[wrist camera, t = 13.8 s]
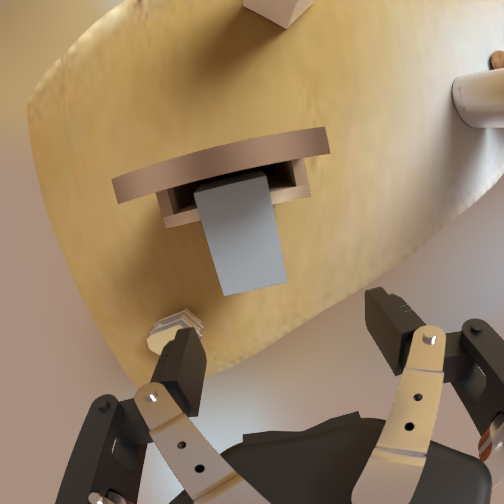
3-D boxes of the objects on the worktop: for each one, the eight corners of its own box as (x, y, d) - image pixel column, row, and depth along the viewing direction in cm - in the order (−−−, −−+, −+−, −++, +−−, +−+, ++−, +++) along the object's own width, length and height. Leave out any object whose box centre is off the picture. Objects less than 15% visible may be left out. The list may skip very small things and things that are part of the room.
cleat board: (278, 144, 32) (324, 126, 13) (286, 182, 34) (340, 214, 15) (183, 166, 32) (111, 179, 14) (193, 203, 34) (135, 259, 15)
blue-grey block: (257, 165, 29) (266, 175, 20) (275, 247, 33) (289, 290, 23) (208, 176, 29) (193, 193, 20) (229, 257, 33) (226, 303, 24)
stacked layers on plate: (179, 284, 38) (171, 303, 33) (223, 324, 40) (220, 346, 35) (139, 320, 40) (128, 340, 35) (180, 355, 42) (174, 377, 37)
